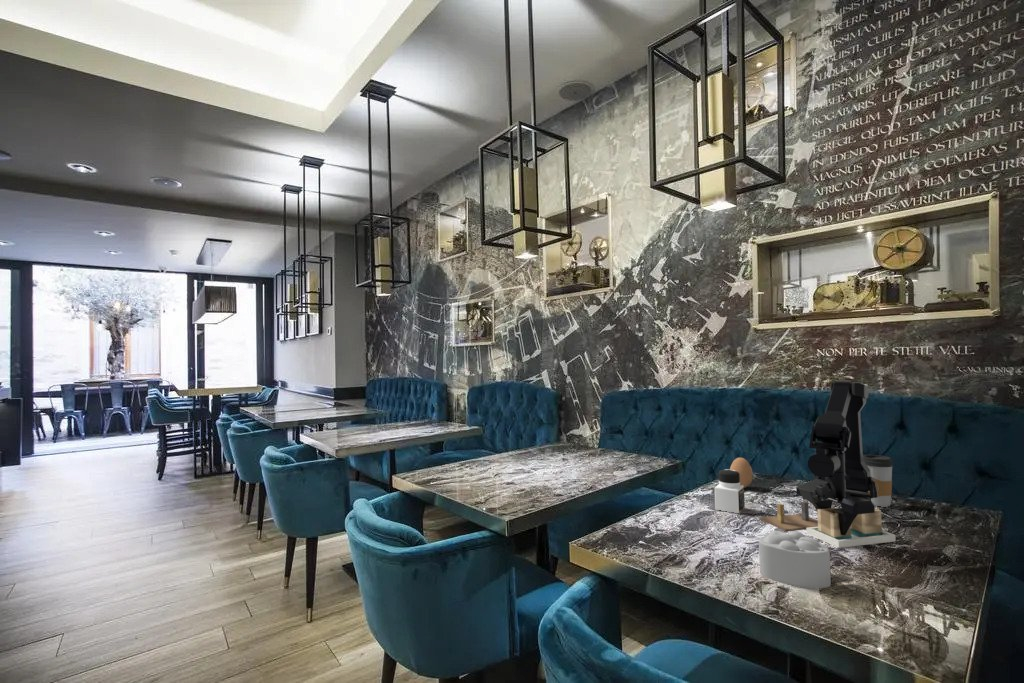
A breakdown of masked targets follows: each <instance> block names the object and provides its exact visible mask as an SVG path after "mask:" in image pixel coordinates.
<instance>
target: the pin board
mask: <svg viewBox="0 0 1024 683" xmlns="http://www.w3.org/2000/svg"><path fill="white" fill-rule="evenodd" d="M809 507H810V506H809V501H808V502H807V501H801V513H796V514H795V513H794V514H785V504H782V503H777V504H776V510H777V511H776V512H777V513H776V514H777V515H775V516H774V515H773V516H764V517H762V516H761V517H759V518H758V519H759V520H760V521H762V522H765V523H767V524H768V525H771V526H774V527H775V528H778V529H780V530H782V531H784V532H791V531H798V530H807V529H806V528H808V527H818V519H815V518H813V517H810V516H809V515H810V512H809V510H810V509H809Z"/></svg>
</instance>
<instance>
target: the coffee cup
mask: <svg viewBox="0 0 1024 683" xmlns="http://www.w3.org/2000/svg"><path fill="white" fill-rule="evenodd" d="M863 461H864V462H865V464H866V465H867V466H868V467H869V469H870V472H871V477H873V480H874V482H875V483H876V487H877V496H878V497H877V498H871V501H872V502H873V503H874V507H875V506H881V507H880V508H883V507H886V508H888V507H887V506H889V507H890V506H891V504H892V491H893V480H892V479H893V467H894V466H893V461H892V460H891V457H889V456H886V455H878V454H877V455H876V454H863ZM868 492H870V491H868Z"/></svg>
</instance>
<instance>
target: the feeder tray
mask: <svg viewBox="0 0 1024 683" xmlns="http://www.w3.org/2000/svg"><path fill="white" fill-rule="evenodd" d="M805 530H806V535H809V536H811V537H812V538H813V537H814V538H816V539H818V540H820V541H822V542H825V543H827V544H830V545H832V546H833V547H836V548H839V549H840V548H848V547H857V546H865V545H875V544H883V543H892V542H896V541H897V539H896V534H894V533H892V532H891V533H890V532H888V531H886V530H883V529H882V532H883V535H878V536H869V537H857V536H855V535H852V534H851V536H852V538H851V539H842V540H838V539H835V538H833V537H830V536H828V535H826V534H823V533H821V532H819V531H817V530H818V527H808V528H806V529H805Z"/></svg>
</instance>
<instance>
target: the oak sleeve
mask: <svg viewBox="0 0 1024 683" xmlns="http://www.w3.org/2000/svg"><path fill="white" fill-rule="evenodd" d="M834 509H836V507H831V508H825V509H817V511H816V512H817V513H816V514H817V520H818V530H817V531H819V532H821V533H823V534H826V535H828V536H830V537H833V538H835V539H838V540H842V539H851V538H852V536H851V526H850V528H849V529H848V531H847V533H846V535H841V533H840V526H839V515H838V513H837V512H836V511H835V510H834Z"/></svg>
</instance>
